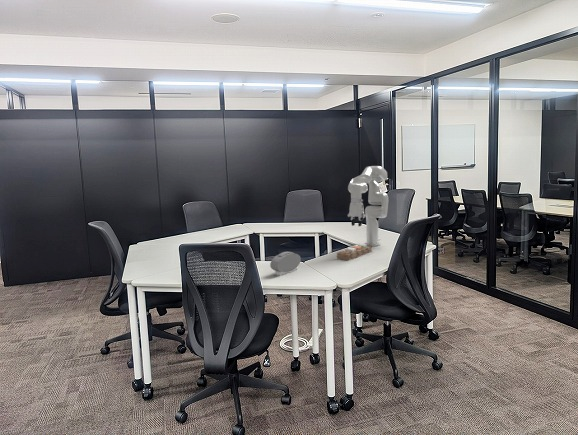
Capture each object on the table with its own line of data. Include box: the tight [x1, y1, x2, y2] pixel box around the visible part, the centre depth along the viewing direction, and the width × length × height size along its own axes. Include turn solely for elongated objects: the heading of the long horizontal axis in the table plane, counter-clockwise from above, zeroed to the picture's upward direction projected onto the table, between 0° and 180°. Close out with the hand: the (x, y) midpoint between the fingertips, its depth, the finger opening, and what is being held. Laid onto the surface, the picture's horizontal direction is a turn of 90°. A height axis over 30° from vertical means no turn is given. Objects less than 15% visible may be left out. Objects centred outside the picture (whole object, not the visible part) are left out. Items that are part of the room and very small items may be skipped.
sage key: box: [357, 243, 367, 248], centre depth 318 cm, size 5×5×3 cm
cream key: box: [345, 247, 356, 252], centre depth 306 cm, size 5×5×3 cm
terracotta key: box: [351, 245, 362, 250], centre depth 312 cm, size 5×5×3 cm
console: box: [336, 246, 373, 261], centre depth 310 cm, size 32×10×4 cm, turn 141°
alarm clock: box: [269, 251, 302, 276], centre depth 269 cm, size 23×6×13 cm, turn 141°
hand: (356, 225), depth 310 cm, fingers open, 4 cm apart
